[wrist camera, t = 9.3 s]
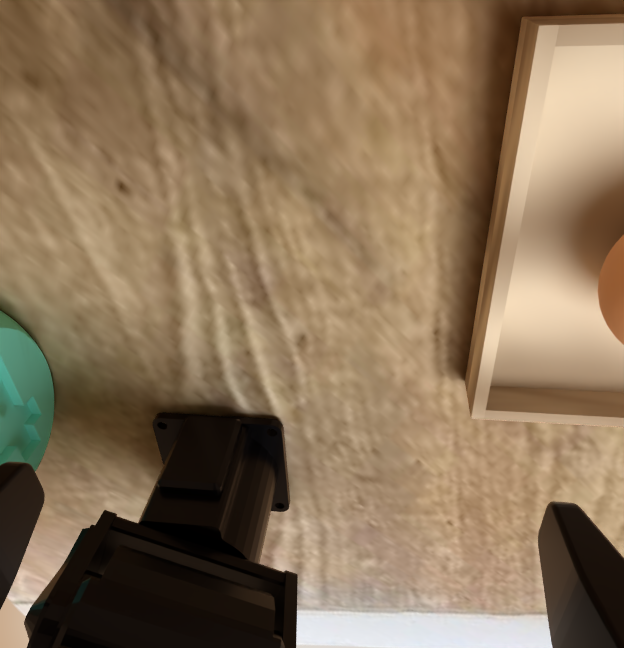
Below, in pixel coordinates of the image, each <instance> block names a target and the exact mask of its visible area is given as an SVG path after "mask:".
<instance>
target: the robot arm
mask: <svg viewBox="0 0 624 648" xmlns="http://www.w3.org/2000/svg"><path fill="white" fill-rule="evenodd" d="M162 422H164V423H162ZM153 428H154V432H155V436H156V439H157V443H158V446H159V450H160V454H161V457H162V461H163V464H164V466H163V468H162V470H161V472H160V475H159V477H158V479H157V481H156V484H155V486H154V488H153V490H152V493H151V495H150V497H149V499H148V502H147V504H146V506H145V508H144V511H143V513H142V515H141V517H140V520H139V522H138V523H135V522H132V521H129V520H126V519H123V518H120V517H117V514H115V513H112V512H109V511H106V510H104V512H103V514H102V515H101V517H100V519H99V520H98V522H97V524H96V525H91V526H90V528H86V529H82V531H81V533H80V535H79V537H78V539H77V540H76V542H75V544H74V546H73V548H72V550H71V552H70V553H69V555H68V557H67V559H66V560H65V562H64V564H63V565H62V567H61V568H60V570H59V571H58V572H57V574H56V575H55V576H54V578H53V579H52V580H51V581H50V583H49V584H48V585H47V587H46V588H45V589H44V591H43V592H42V593H41V595H40V596H39V597H38V599H37V600H36V601H35V602H34V604H33V605H32V607H31V608H30V610H29V612H28V614H27V616H26V618H25V622H24V625H25V628H26V631H27V634H28V637H29V643H28V646H27V648H296V624H297V574H295V573H292V572H289V571H286V570H285V572H282V571H279V570H276V569H273V568H270V567H267V566H264V565H261V564H259V562H260V558H261V553H262V549H263V544H264V539H265V535H266V530H267V525H268V521H269V516H270V512H271V511H278V512H284V511H287V510H288V509H289V504H290V494H289V483H288V472H287V461H286V450H285V439H284V428H283V425H282V423H281V422H279V421H277V420H274V419H261V418H244V417H227V416H210V415H193V414H177V413H159V414H157V415H156V417H155V419H154V421H153ZM271 429H274V430H271ZM43 504H44V490H43V488H42V486H41V484H40V482H39V480H38V477H37V475H36V473H35V471H34V469H33V467H32V466H31V465H30V464H29V463H25V462H12V461H11V462H5V463H3V464H1V465H0V609H1V607H2V605H3V603H4V601H5V599H6V597H7V595H8V593H9V590H10V588H11V586H12V584H13V582H14V579H15V577H16V574H17V572H18V569H19V567H20V564H21V562H22V559H23V556H24V554H25V551H26V549H27V546H28V543H29V541H30V538H31V536H32V533H33V530H34V528H35V525H36V523H37V520H38V517H39V515H40V512H41V510H42V507H43ZM538 547H539V555H540V562H541V569H542V577H543V584H544V592H545V599H546V607H547V614H548V622H549V629H550V635H551V642H552V646H553V648H624V558H623V557H622V555H621V554H620V553H619V552H618V551H617V550H616V548H615V547H614V546H613V545H612V544H611V543H610V541H609V540H608V539H607V538H606V537H605V536H604V535H603V533H602V532H601V531H600V530H599V529H598V528H597V526H596V525H595V524H594V523H593V522H592V521H591V519H590V518H589V517H588V516H587V515H586V514H585V512H584V511H583V510H582V509H581V508H580V507H579V506H578V505H576V504H574V503H567V502H550V503H549V504H548V506H547V508H546V511H545V514H544V517H543V520H542V524H541V527H540V530H539V534H538Z"/></svg>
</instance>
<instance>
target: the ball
mask: <svg viewBox="0 0 624 648" xmlns="http://www.w3.org/2000/svg"><path fill="white" fill-rule="evenodd" d="M598 299H599V306H600V309H601V313H602V315H603V318H604V320H605V322H606V324H607V326H608V327H609V329H610V330H611V332H612V333H613V334H614V336H615V337H616V338H617V339H618V340H619V341H620V342H621V343H622V344H623V345H624V235H623V236H622V237H621V238H620V239H619V240H618V241H617V242H616V243H615V245H614V246H613V247H612V249H611V250H610V252H609V253H608V255H607V257H606V259H605V261H604V264H603V266H602V269H601V272H600V276H599V282H598Z"/></svg>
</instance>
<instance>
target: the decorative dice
mask: <svg viewBox="0 0 624 648" xmlns="http://www.w3.org/2000/svg"><path fill="white" fill-rule="evenodd" d="M53 417H54V388H53V382H52V377H51V373H50V370H49V366H48V364H47V361H46V359H45V357H44V355H43V353H42V352H41V350H40V349H39V347H38V346H37V344H36V343H35V341H34V340H33V339H32V338H31V336H30V335H29V334H28V333H27V332H26V331H25V330H24V329H23V328H22V327H21V326H20V325H19V324H18V323H17V322H16V321H14V320H13V319H12V318H10V317H9V316H8V315H6V314H5V313H3V312H2V311H0V465H1V464H3V463H5V462H11V461H12V462H25V463H29V464H30V465H31V466H32V467H33V469H34V471H36V469H37V468H38V466H39V464H40V462H41V460H42V457H43V455H44V453H45V450H46V447H47V444H48V441H49V438H50V434H51V429H52V424H53Z"/></svg>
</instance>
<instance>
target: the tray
mask: <svg viewBox="0 0 624 648" xmlns="http://www.w3.org/2000/svg"><path fill="white" fill-rule="evenodd" d="M623 235H624V14H600V15H565V16H531V17H522V20H521V26H520V33H519V39H518V45H517V52H516V58H515V65H514V71H513V77H512V84H511V90H510V97H509V103H508V109H507V116H506V122H505V129H504V135H503V141H502V148H501V154H500V161H499V167H498V173H497V180H496V186H495V193H494V199H493V205H492V212H491V218H490V225H489V231H488V237H487V244H486V250H485V257H484V263H483V269H482V276H481V282H480V289H479V295H478V301H477V308H476V314H475V321H474V327H473V333H472V340H471V346H470V353H469V359H468V365H467V372H466V378H465V385H466V391H467V397H468V403H469V409H470V415H471V419H485V420H503V421H520V422H538V423H555V424H573V425H591V426H608V427H624V345H623V344H622V343H621V342H620V341H619V340H618V339H617V338H616V337H615V336H614V334H613V333H612V332H611V330H610V329H609V327H608V326H607V324H606V322H605V320H604V318H603V315H602V313H601V309H600V306H599V299H598V282H599V276H600V272H601V269H602V266H603V264H604V261H605V259H606V257H607V255H608V253H609V252H610V250H611V249H612V247H613V246H614V245H615V243H616V242H617V241H618V240H619V239H620V238H621V237H622V236H623Z"/></svg>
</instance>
